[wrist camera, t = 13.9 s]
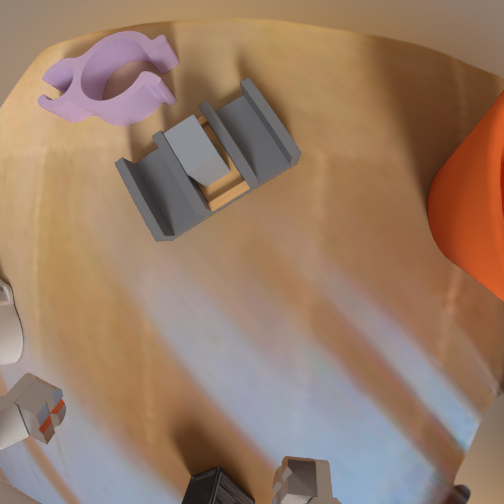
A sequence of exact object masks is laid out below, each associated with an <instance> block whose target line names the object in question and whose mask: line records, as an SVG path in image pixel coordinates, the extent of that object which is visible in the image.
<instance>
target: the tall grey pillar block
mask: <svg viewBox="0 0 504 504" xmlns="http://www.w3.org/2000/svg"><path fill="white" fill-rule="evenodd" d="M164 135H165V137H166V139H167V141H168V142H169V144H170V146H171V147H172V149H173V151H174V153H175V154H176V156H177V158H178V159H179V161H180V163H181V165H182V166H183V168H184V170H185V171H186V173H187V174H188V175H189V176H191V177H192V178H193V179H195V180H196V181H198V182H199V183H201V184H202V185H204V186H205V187H208V186H209V185H211V184H213V183H214V182H216V181H217V180H219V179H221V178H222V177H224V176H225V175H227V174H229V173H230V172H231V171H230V170H229V168H228V167H227V165H226V163H225V162H224V160H223V158H222V157H221V155H220V154H219V152H218V150H217V149H216V147H215V146H214V144H213V142H212V141H211V139H210V138H209V136H208V135H207V133H206V132H205V130H204V129H203V128H202V126H201V125H200V123H199V122H198V120H197V119H196V117H195V116H194V114H193V115H191V116H190V117H188V118H187V119H185V120H184V121H182V122H180V123H179V124H177V125H176V126H174V127H173V128H171V129H170V130H168V131H167V132H165V133H164Z"/></svg>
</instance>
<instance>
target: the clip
mask: <svg viewBox="0 0 504 504" xmlns="http://www.w3.org/2000/svg"><path fill="white" fill-rule="evenodd" d="M138 60H143V61H148V62H151V63H152V64H154V65H155V66H156V68H157V69H158V70H159V72H160V73H165V72H168V71H170V70H171V69H172V68H174V67H175V66H177V65H178V64H179V59H178V58H177V56H176V54H175V52H174V51H173V49H172V47H171V45H170V44H169V42H168V40H167V39H166V37H165V36H164V35H159V36H158V37H156V38H155V39H153V40H150V39H149V38H148V37H147V36H145V35H144V34H142V33H139V32H135V31H122V32H118V33H114V34H112V35H109V36H107V37H105V38H103V39H102V40H100V41H99V42H97V43H96V44H95V45H94V46H92V47H91V48H90V49H89V50H88V51H87V52H86V53H84V54H83V55H81V56H79V57H76V58H65V59H62V60H60V61H58V62H57V63H55V64H54V65H53V66H51V67H50V68H49V69H48V70H47V72H46V73H45V74H44V76H43V78H42V79H43V80H44V81H45V82H47V83H48V84H50V85H52V86H53V87H55V88H56V89H58V90H59V91H61V92H63V93H64V94H63V95H62V96H61V97H59V98H58V99H55V100H52V99H51V98H49V97H47V96H45V95H41V96H40V97H39V98H38V103H39V105H40V106H41V107H42V108H44V109H46V110H48V111H50V112H52V113H54V114H56V115H57V116H59V117H61V118H63V119H65V120H67V121H69V122H79V121H82V120H84V119H86V118H87V117H90V116H98V117H99V118H101V119H102V120H104V121H106V122H107V123H109V124H112V125H116V126H127V125H131V124H135V123H137V122H140V121H142V120H143V119H145V118H147V117H148V116H149V115H151V114H152V113H153V112H154V111H155V110H156V109H157V108H158V107H159V106H160V105H161V104H162V103H166V104H168V105H170V106H171V105H174V103H175V102H176V98H175V96H174V95H173V94H172V92H171V91H170V90H169V88H168V87H167V86H166V84H165V83H164V82H163V80H162V79H161V78H160V77H159V76H157V75H156V74H154V73H152V72H147V71H143V72H142V73H140V75H139V77H138V78H137V80H136V81H135V82H134V83H133V84H132V85H131V86H130V87H129V88H128V89H127V90H126V91H125V92H123V93H122V94H120V95H118V96H116V97H114V98H112V99H109V100H104V101H103V90H104V87H105V84H106V82H107V81H108V79H109V78H110V76H111V75H112V74H113V73H114V72H115V71H116V70H117V69H118V68H120V67H121V66H123V65H125V64H127V63H129V62H132V61H138Z"/></svg>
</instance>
